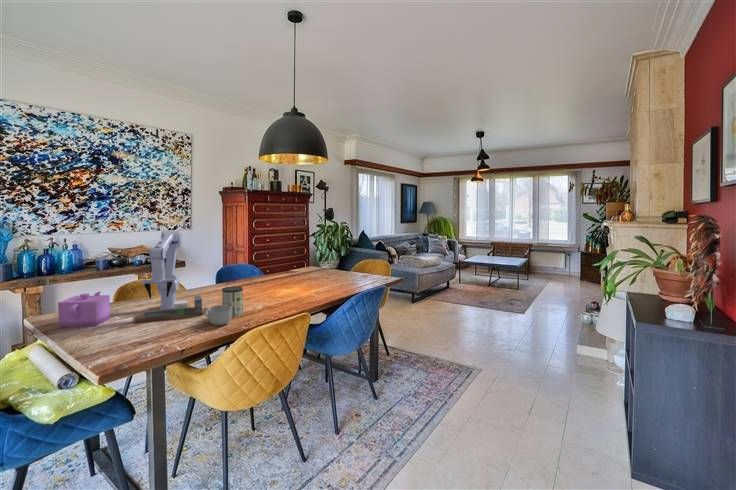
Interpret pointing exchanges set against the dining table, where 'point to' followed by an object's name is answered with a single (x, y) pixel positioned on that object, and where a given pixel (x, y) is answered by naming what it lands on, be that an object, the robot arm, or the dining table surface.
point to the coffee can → (233, 299)
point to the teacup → (218, 314)
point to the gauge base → (172, 312)
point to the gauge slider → (180, 304)
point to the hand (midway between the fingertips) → (159, 297)
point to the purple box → (84, 310)
